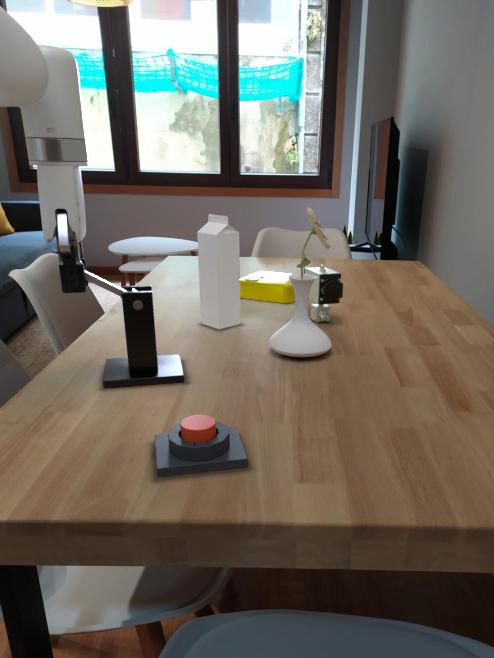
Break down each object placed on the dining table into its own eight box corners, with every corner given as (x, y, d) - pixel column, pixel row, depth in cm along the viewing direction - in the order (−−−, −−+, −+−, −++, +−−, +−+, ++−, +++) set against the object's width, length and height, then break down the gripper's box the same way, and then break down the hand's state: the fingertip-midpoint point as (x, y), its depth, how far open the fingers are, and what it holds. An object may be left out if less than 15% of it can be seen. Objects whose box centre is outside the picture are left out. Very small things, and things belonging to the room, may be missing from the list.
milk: (222, 318, 118) (220, 213, 110) (241, 324, 115) (240, 215, 106) (200, 323, 114) (196, 214, 106) (218, 329, 110) (216, 217, 102)
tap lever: (56, 275, 77) (65, 255, 76) (59, 271, 80) (68, 252, 79) (141, 316, 82) (151, 298, 82) (141, 311, 85) (150, 293, 84)
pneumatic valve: (321, 328, 113) (323, 270, 108) (299, 314, 123) (301, 260, 118) (344, 326, 115) (348, 269, 110) (322, 312, 125) (324, 259, 120)
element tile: (289, 304, 131) (290, 284, 129) (234, 297, 136) (233, 278, 134) (310, 291, 144) (311, 273, 142) (259, 286, 149) (259, 268, 147)
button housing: (157, 478, 59) (155, 454, 58) (155, 443, 66) (153, 421, 65) (247, 467, 61) (247, 444, 60) (236, 435, 69) (235, 413, 67)
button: (182, 445, 61) (181, 431, 60) (180, 429, 64) (179, 416, 63) (218, 441, 62) (217, 428, 61) (213, 426, 65) (213, 413, 64)
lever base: (103, 388, 82) (92, 298, 76) (106, 365, 90) (97, 283, 85) (184, 382, 84) (179, 294, 79) (179, 360, 93) (175, 280, 88)
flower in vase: (323, 366, 92) (330, 212, 83) (259, 358, 95) (260, 209, 86) (339, 343, 104) (347, 206, 94) (282, 337, 107) (284, 204, 97)
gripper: (38, 153, 79) (56, 278, 86) (15, 153, 65) (39, 304, 72) (92, 154, 81) (105, 277, 88) (82, 154, 66) (99, 301, 74)
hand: (75, 288), depth 80 cm, fingers open, 3 cm apart
